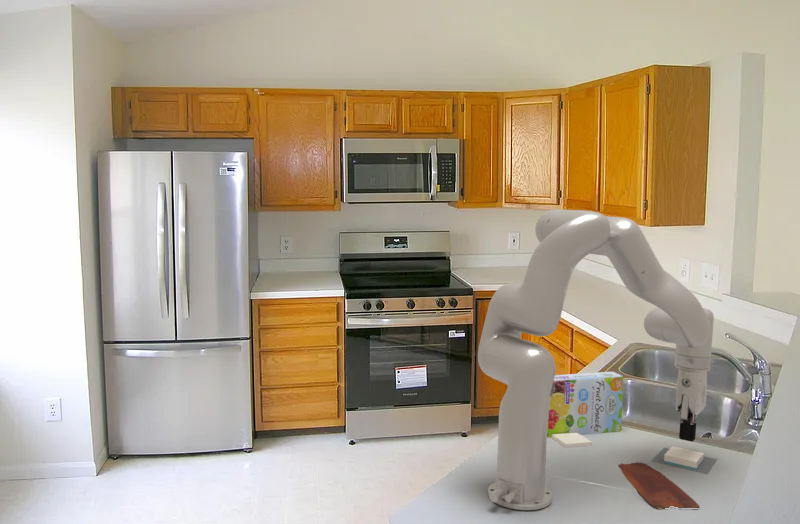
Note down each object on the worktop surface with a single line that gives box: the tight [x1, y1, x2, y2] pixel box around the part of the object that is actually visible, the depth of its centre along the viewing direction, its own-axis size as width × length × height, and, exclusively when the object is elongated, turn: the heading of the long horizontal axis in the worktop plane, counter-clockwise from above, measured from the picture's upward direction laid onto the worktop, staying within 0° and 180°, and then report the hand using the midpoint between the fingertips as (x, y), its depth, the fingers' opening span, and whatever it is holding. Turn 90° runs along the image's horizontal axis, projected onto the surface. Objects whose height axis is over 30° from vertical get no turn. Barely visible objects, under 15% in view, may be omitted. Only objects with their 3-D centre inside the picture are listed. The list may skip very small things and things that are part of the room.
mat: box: [651, 447, 718, 475], centre depth 164 cm, size 11×12×1 cm
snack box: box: [547, 371, 624, 438], centre depth 181 cm, size 21×6×15 cm, turn 107°
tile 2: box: [664, 445, 705, 470], centre depth 163 cm, size 2×7×7 cm
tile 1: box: [551, 433, 593, 449], centre depth 174 cm, size 7×7×2 cm
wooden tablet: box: [617, 461, 700, 510], centre depth 152 cm, size 27×10×2 cm, turn 4°
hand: (687, 439), depth 164 cm, fingers closed
